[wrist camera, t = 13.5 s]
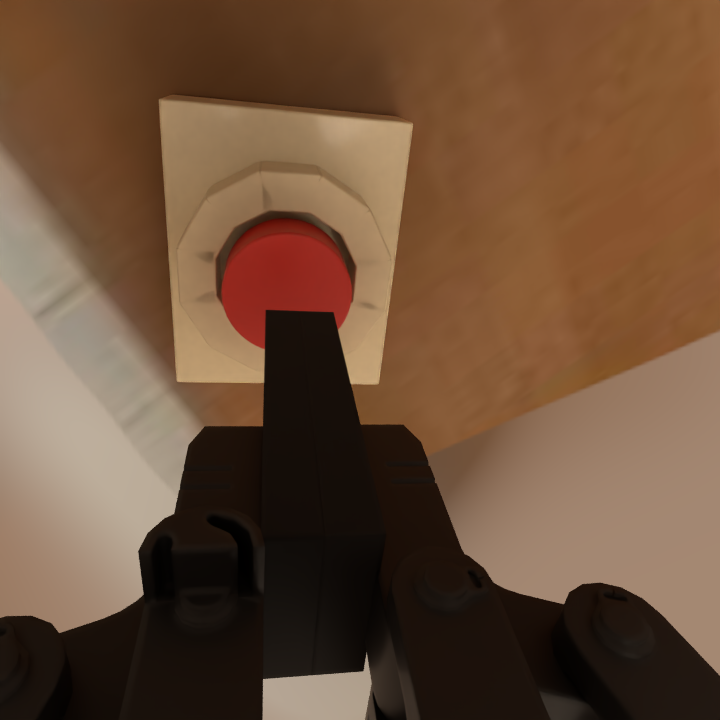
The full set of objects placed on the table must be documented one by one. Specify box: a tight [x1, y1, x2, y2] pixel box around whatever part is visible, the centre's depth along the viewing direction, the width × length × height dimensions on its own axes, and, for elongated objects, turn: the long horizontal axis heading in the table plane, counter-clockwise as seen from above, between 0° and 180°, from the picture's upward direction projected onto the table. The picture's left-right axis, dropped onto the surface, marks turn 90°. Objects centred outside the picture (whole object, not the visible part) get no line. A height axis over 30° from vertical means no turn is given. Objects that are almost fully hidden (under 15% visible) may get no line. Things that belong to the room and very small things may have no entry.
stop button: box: [221, 218, 352, 349], centre depth 18 cm, size 4×4×2 cm
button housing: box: [159, 94, 413, 384], centre depth 20 cm, size 10×8×4 cm
